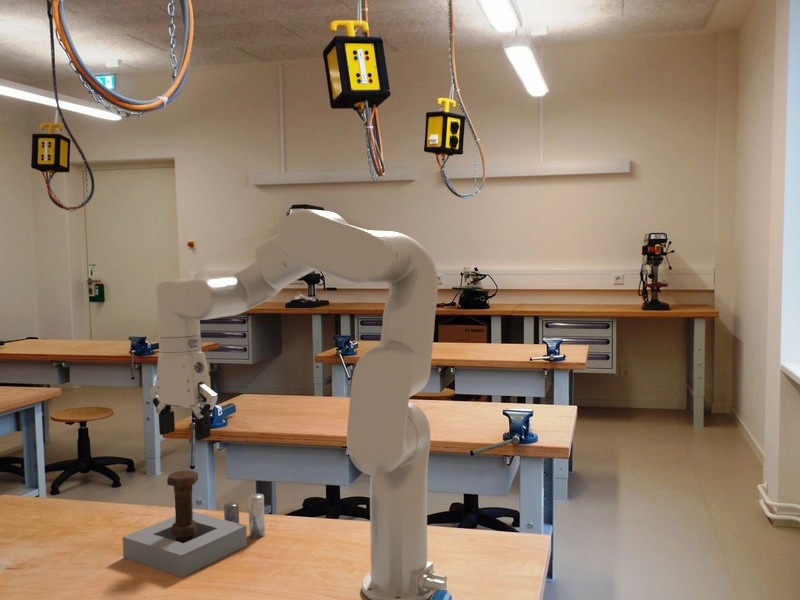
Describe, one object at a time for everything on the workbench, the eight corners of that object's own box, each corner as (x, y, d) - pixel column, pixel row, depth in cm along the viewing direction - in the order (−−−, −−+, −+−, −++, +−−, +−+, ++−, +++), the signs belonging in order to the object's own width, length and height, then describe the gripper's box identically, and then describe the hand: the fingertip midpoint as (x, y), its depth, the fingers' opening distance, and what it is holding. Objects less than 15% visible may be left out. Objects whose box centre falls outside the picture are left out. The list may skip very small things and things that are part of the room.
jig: (246, 545, 141) (246, 525, 140) (182, 577, 127) (181, 555, 127) (189, 529, 149) (189, 510, 149) (123, 557, 136) (122, 536, 136)
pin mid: (267, 534, 147) (267, 495, 146) (257, 539, 144) (256, 499, 143) (256, 531, 148) (255, 492, 148) (246, 536, 146) (245, 497, 145)
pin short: (242, 527, 150) (241, 503, 150) (232, 532, 148) (231, 508, 147) (232, 524, 152) (231, 501, 152) (221, 529, 149) (220, 505, 149)
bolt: (164, 553, 138) (161, 475, 137) (183, 543, 142) (181, 468, 141) (187, 559, 135) (184, 480, 134) (206, 549, 139) (203, 472, 138)
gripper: (228, 344, 134) (232, 436, 135) (165, 341, 143) (169, 427, 144) (197, 349, 128) (201, 445, 129) (133, 346, 137) (138, 435, 138)
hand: (184, 435), depth 137 cm, fingers open, 9 cm apart
